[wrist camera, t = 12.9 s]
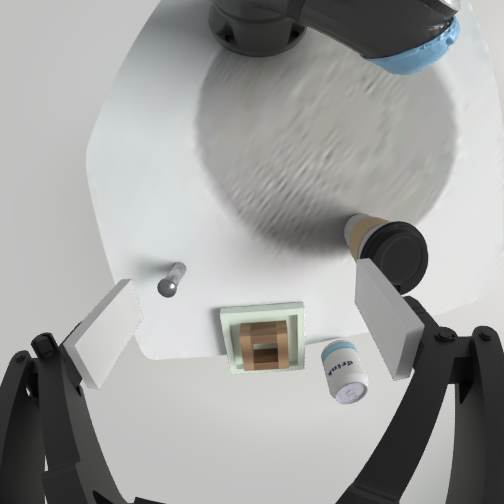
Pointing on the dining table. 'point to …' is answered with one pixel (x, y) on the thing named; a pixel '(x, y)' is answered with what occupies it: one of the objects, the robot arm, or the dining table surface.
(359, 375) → the beverage can
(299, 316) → the tray
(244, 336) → the brown rectangular frame
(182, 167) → the dining table surface
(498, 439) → the robot arm
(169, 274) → the grey round-topped rod
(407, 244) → the coffee cup
